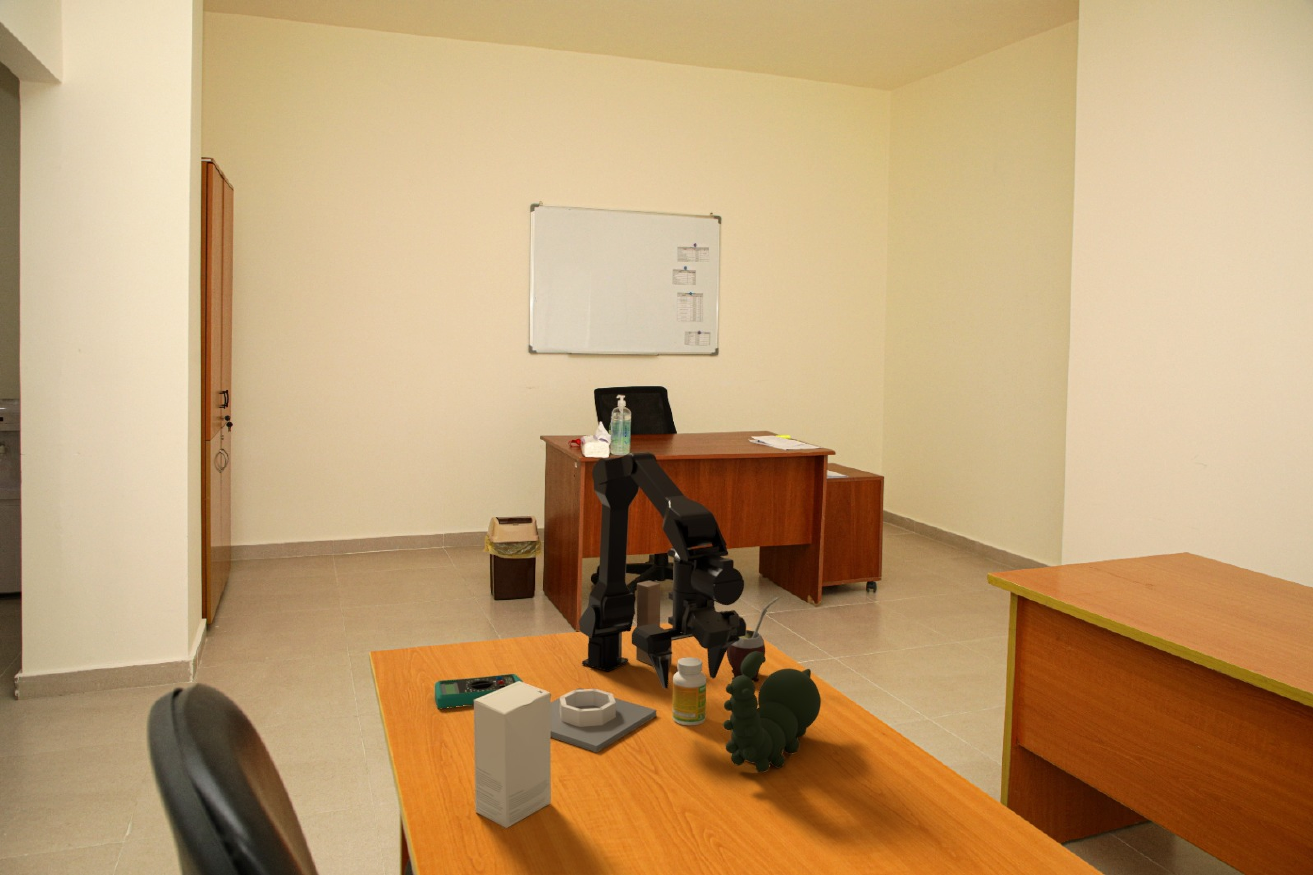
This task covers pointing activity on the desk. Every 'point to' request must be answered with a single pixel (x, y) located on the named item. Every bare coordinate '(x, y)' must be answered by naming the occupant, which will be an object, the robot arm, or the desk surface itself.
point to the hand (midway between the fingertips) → (689, 682)
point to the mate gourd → (747, 647)
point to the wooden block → (648, 612)
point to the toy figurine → (769, 713)
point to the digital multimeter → (469, 689)
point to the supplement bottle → (689, 692)
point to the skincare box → (512, 753)
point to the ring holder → (594, 718)
